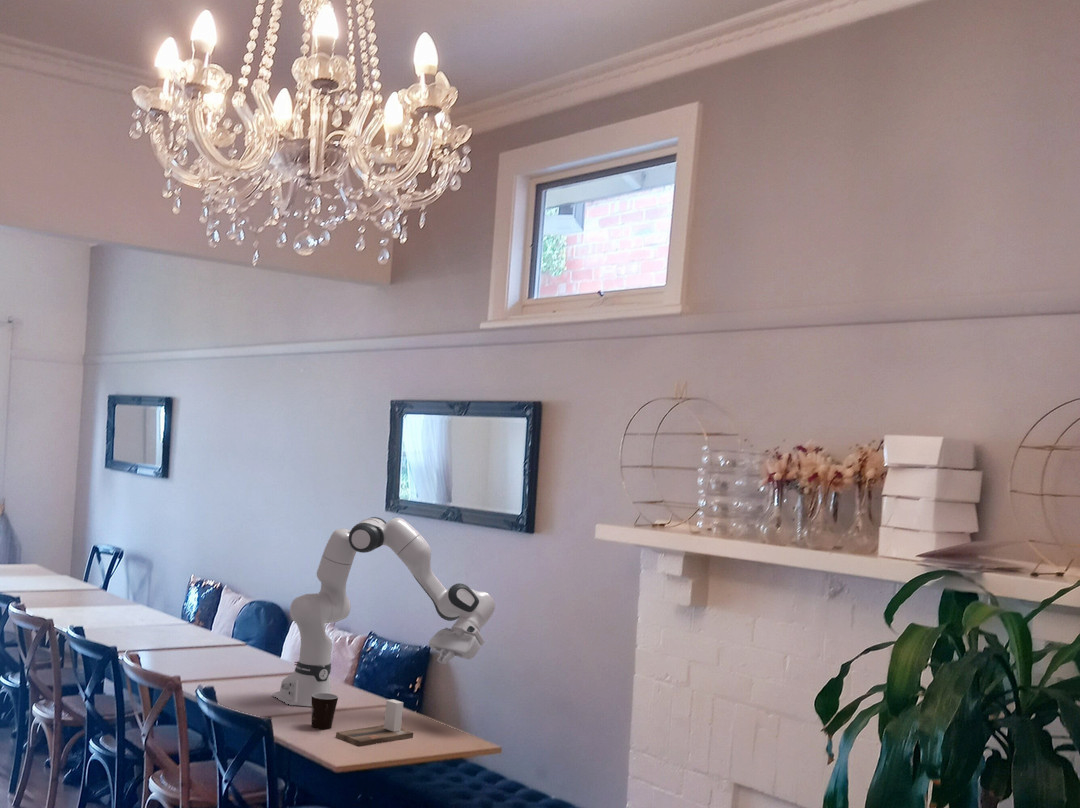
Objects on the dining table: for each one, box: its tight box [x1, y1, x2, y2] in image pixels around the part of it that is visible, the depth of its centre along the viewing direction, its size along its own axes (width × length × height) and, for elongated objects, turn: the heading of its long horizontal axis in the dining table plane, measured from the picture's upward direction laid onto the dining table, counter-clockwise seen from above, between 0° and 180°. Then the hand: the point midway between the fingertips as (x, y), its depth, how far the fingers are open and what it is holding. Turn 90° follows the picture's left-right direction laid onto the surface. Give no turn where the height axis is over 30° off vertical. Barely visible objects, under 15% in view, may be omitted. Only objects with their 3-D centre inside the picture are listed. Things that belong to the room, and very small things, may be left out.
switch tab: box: [383, 698, 404, 732], centre depth 330 cm, size 5×3×9 cm, turn 49°
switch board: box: [335, 724, 414, 747], centre depth 325 cm, size 12×22×2 cm, turn 139°
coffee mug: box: [311, 693, 339, 731], centre depth 330 cm, size 12×9×10 cm
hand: (440, 662), depth 346 cm, fingers closed
